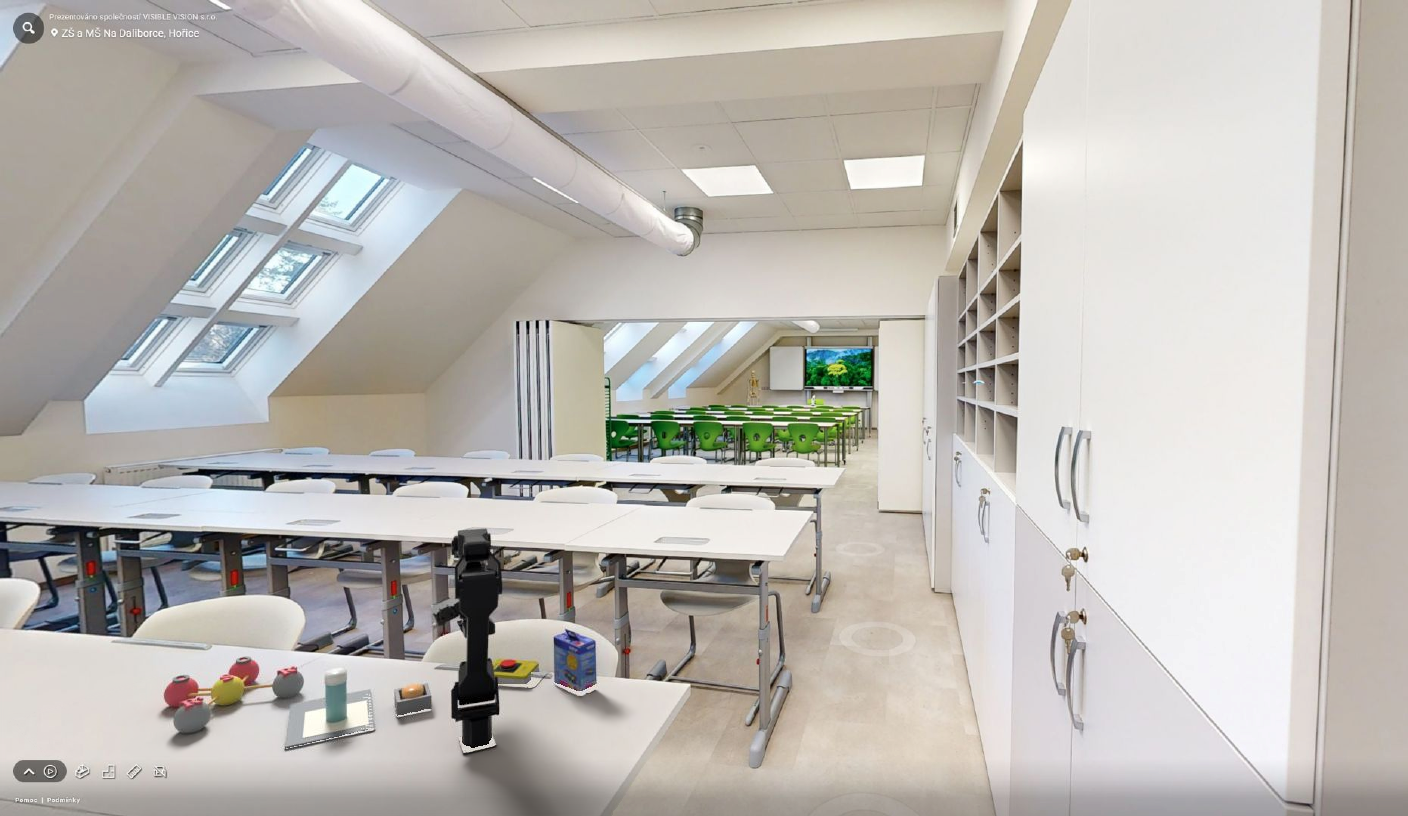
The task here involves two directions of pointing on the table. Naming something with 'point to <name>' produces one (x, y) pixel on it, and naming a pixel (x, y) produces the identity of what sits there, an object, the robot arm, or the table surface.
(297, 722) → the drawing board
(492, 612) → the robot arm
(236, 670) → the molecule model
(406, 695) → the button
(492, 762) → the table surface
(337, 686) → the white-capped teal tube
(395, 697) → the button housing
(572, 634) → the ink cartridge box
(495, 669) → the emergency button
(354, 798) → the table surface
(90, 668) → the table surface
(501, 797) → the table surface
